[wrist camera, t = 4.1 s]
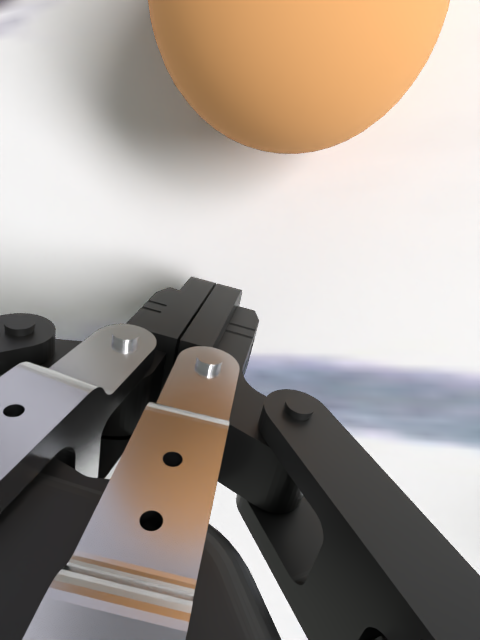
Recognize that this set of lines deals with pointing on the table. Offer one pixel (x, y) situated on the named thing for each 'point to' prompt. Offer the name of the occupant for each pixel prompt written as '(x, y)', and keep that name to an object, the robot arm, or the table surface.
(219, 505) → the table surface
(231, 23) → the ball
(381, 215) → the table surface
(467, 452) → the table surface
